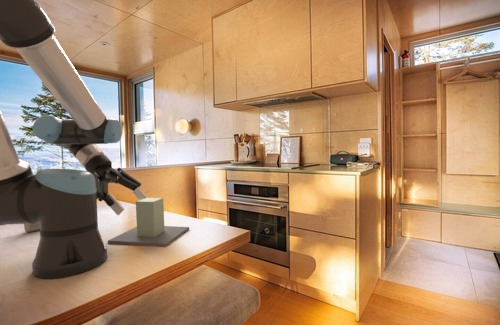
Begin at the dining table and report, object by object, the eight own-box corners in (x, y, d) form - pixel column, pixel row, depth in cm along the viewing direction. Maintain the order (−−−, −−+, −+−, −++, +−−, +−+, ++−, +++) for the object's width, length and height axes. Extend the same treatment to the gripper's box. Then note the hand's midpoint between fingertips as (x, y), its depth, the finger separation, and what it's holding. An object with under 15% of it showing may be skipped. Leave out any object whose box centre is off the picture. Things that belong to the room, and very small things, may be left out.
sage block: (154, 236, 81) (153, 201, 80) (137, 236, 82) (135, 201, 81) (164, 230, 87) (163, 198, 86) (148, 230, 88) (146, 197, 87)
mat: (166, 246, 75) (166, 243, 75) (107, 243, 78) (107, 240, 78) (189, 229, 91) (189, 227, 91) (139, 227, 94) (139, 225, 94)
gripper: (114, 166, 101) (150, 206, 99) (53, 172, 77) (99, 225, 74) (126, 152, 100) (162, 193, 97) (68, 154, 75) (115, 208, 73)
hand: (135, 207), depth 86 cm, fingers open, 13 cm apart
